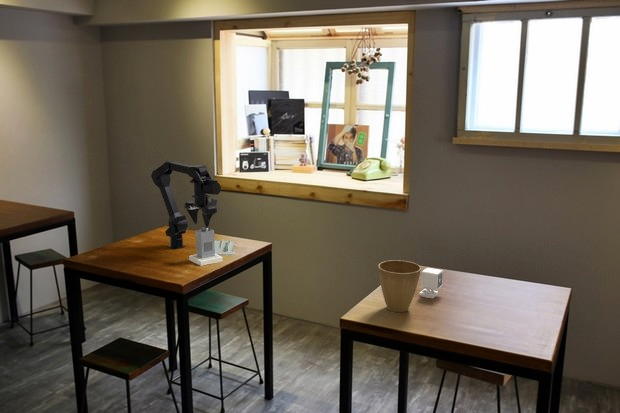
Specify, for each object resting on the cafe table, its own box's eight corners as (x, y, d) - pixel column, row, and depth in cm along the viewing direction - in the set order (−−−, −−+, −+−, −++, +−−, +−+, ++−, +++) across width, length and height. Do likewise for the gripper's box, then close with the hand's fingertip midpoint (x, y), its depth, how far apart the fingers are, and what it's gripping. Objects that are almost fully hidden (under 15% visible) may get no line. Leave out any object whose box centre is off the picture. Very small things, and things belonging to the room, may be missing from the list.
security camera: (436, 299, 229) (437, 274, 227) (418, 296, 233) (419, 271, 231) (442, 294, 234) (443, 269, 232) (424, 291, 238) (425, 266, 236)
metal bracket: (207, 236, 298) (238, 237, 297) (208, 246, 300) (238, 247, 300) (201, 252, 285) (233, 252, 284) (203, 263, 288) (234, 263, 287)
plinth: (189, 260, 278) (189, 255, 278) (210, 255, 285) (210, 251, 284) (201, 265, 270) (200, 261, 269) (222, 261, 276) (222, 256, 276)
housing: (196, 256, 277) (195, 228, 274) (209, 253, 281) (208, 226, 278) (202, 258, 273) (201, 230, 270) (215, 256, 277) (214, 228, 274)
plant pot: (370, 311, 217) (371, 268, 214) (387, 298, 230) (389, 257, 226) (409, 320, 210) (411, 275, 206) (425, 306, 222) (427, 264, 219)
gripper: (226, 193, 284) (227, 225, 287) (203, 188, 297) (204, 219, 300) (206, 196, 276) (207, 229, 280) (183, 190, 289) (184, 223, 293)
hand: (201, 225), depth 288 cm, fingers open, 9 cm apart
